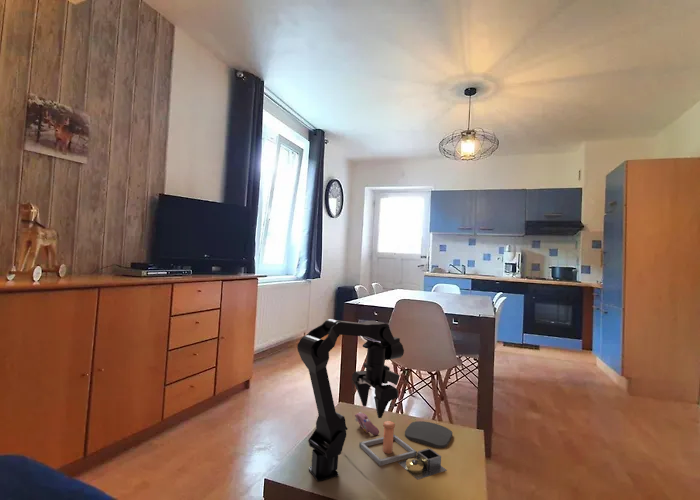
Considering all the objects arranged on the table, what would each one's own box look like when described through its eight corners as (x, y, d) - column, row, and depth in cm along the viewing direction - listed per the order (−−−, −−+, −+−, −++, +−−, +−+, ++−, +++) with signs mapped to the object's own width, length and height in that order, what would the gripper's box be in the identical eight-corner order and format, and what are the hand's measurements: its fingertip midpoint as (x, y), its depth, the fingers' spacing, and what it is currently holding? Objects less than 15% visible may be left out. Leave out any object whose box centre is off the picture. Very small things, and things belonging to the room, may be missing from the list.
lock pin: (386, 456, 111) (387, 427, 111) (379, 450, 114) (381, 422, 114) (395, 453, 113) (397, 425, 113) (388, 448, 116) (390, 420, 116)
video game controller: (357, 428, 133) (351, 412, 132) (368, 421, 134) (361, 405, 133) (370, 441, 124) (363, 424, 122) (381, 434, 125) (374, 416, 124)
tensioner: (417, 483, 99) (418, 468, 100) (397, 465, 107) (398, 452, 107) (446, 473, 105) (447, 459, 105) (425, 457, 113) (426, 444, 113)
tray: (379, 469, 105) (380, 461, 105) (359, 449, 115) (359, 442, 115) (416, 458, 112) (416, 451, 112) (393, 441, 122) (394, 434, 122)
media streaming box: (401, 441, 122) (401, 432, 123) (414, 425, 135) (414, 417, 135) (444, 455, 116) (445, 445, 116) (454, 436, 129) (454, 427, 129)
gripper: (414, 368, 110) (410, 420, 109) (381, 353, 126) (377, 398, 126) (383, 371, 105) (379, 426, 104) (353, 354, 121) (349, 401, 121)
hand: (371, 411), depth 114 cm, fingers open, 9 cm apart
